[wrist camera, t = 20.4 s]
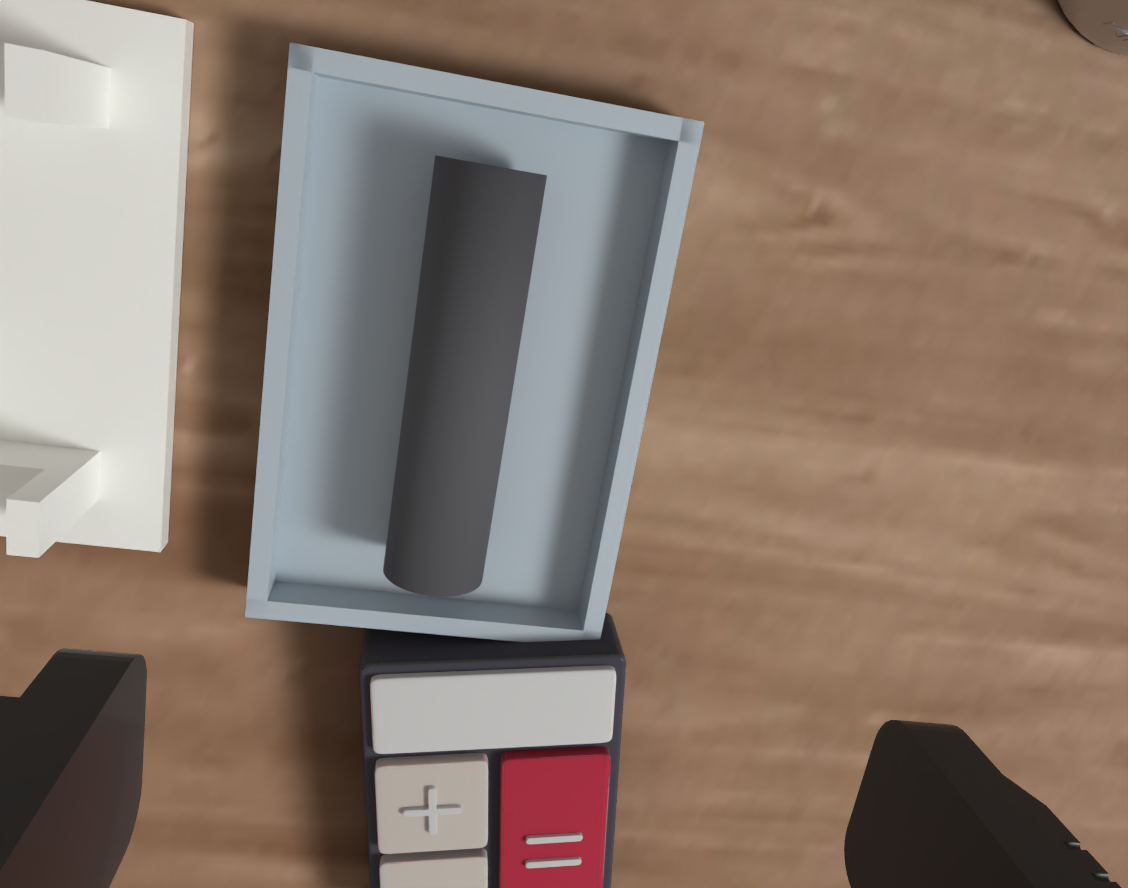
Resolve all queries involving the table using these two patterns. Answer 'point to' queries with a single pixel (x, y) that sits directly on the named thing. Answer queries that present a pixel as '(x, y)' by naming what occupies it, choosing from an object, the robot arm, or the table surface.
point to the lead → (461, 373)
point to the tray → (385, 328)
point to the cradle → (89, 270)
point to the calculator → (490, 759)
